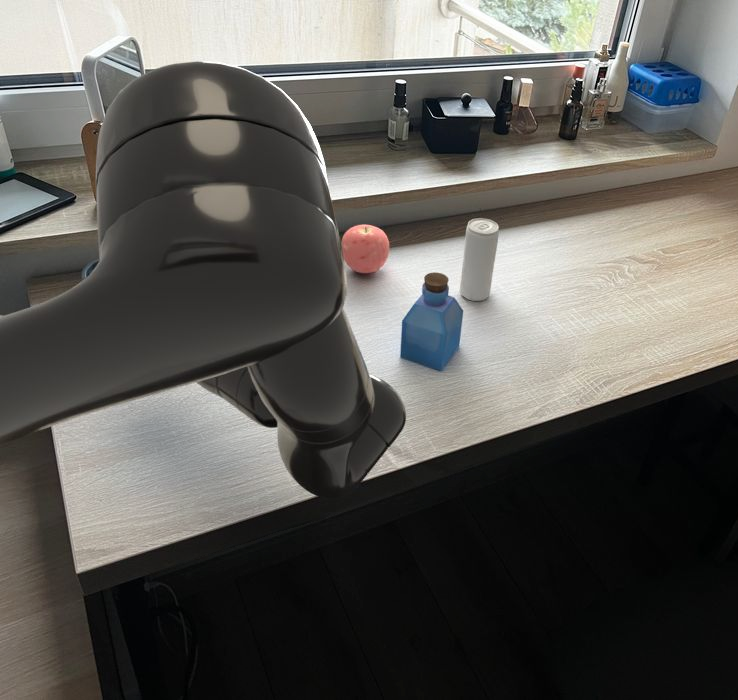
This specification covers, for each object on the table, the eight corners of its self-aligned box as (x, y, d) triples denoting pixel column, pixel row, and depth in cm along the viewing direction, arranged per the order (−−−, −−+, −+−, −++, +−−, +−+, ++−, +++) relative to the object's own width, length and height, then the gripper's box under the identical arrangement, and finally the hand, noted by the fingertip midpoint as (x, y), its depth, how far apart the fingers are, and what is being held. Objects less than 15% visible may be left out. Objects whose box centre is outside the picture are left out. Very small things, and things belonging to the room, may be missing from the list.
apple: (389, 282, 113) (391, 237, 108) (341, 282, 111) (341, 236, 107) (387, 257, 118) (389, 214, 113) (342, 256, 117) (341, 212, 112)
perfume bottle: (400, 357, 99) (404, 283, 91) (419, 333, 103) (424, 261, 96) (441, 371, 97) (448, 297, 90) (459, 346, 102) (467, 274, 94)
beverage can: (453, 293, 112) (460, 224, 105) (472, 281, 115) (481, 214, 108) (476, 306, 110) (485, 237, 103) (496, 294, 113) (506, 226, 106)
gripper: (274, 281, 68) (165, 216, 76) (140, 346, 59) (30, 264, 67) (280, 344, 73) (176, 276, 80) (156, 413, 64) (51, 329, 71)
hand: (110, 271), depth 74 cm, fingers closed on lid, 3 cm apart
